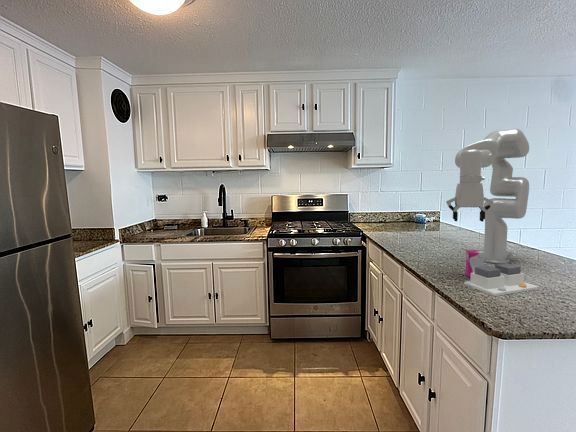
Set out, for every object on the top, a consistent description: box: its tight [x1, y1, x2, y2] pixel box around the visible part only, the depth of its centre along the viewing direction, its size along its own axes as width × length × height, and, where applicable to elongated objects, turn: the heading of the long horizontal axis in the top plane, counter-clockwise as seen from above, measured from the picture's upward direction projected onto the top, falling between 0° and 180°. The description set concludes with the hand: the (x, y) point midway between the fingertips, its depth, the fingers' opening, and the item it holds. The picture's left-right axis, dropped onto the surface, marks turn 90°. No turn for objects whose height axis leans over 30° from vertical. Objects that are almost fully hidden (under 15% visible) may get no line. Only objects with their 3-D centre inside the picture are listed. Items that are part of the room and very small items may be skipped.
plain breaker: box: [475, 265, 501, 278], centre depth 125 cm, size 6×6×4 cm
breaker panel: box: [464, 272, 540, 297], centre depth 125 cm, size 21×14×5 cm, turn 105°
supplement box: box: [465, 249, 485, 279], centre depth 137 cm, size 6×6×12 cm
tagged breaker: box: [494, 263, 522, 275], centre depth 127 cm, size 6×6×4 cm
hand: (468, 221), depth 134 cm, fingers open, 9 cm apart
